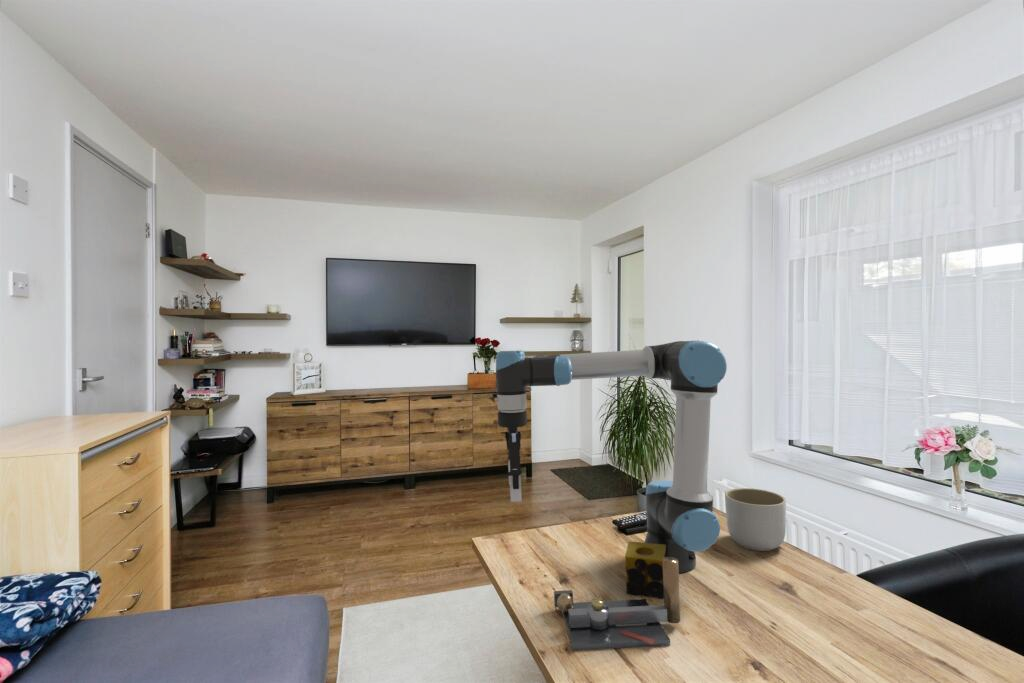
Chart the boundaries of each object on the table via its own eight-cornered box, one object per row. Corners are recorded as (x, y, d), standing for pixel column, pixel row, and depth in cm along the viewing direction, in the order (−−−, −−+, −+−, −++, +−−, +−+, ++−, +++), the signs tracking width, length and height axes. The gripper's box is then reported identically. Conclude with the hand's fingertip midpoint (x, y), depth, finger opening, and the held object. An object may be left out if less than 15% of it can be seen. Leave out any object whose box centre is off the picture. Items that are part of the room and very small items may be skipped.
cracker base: (645, 603, 116) (644, 576, 116) (672, 649, 99) (671, 617, 99) (554, 608, 115) (553, 581, 115) (565, 655, 98) (564, 623, 98)
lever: (675, 612, 110) (673, 555, 110) (683, 624, 105) (682, 564, 105) (567, 618, 108) (566, 560, 108) (571, 631, 104) (569, 570, 104)
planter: (719, 532, 158) (718, 487, 158) (773, 534, 155) (772, 488, 155) (736, 555, 141) (734, 504, 141) (797, 557, 138) (795, 506, 138)
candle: (668, 581, 127) (667, 544, 127) (667, 601, 118) (666, 560, 118) (629, 576, 131) (628, 540, 131) (625, 594, 121) (624, 556, 121)
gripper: (497, 404, 134) (500, 479, 134) (497, 418, 109) (501, 510, 109) (523, 403, 134) (526, 477, 134) (530, 417, 109) (533, 508, 109)
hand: (515, 492), depth 122 cm, fingers open, 13 cm apart
